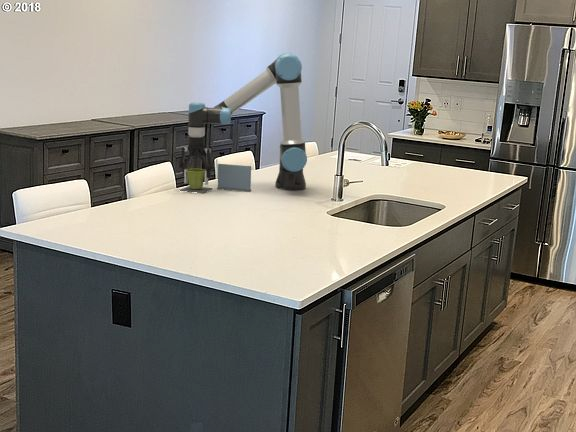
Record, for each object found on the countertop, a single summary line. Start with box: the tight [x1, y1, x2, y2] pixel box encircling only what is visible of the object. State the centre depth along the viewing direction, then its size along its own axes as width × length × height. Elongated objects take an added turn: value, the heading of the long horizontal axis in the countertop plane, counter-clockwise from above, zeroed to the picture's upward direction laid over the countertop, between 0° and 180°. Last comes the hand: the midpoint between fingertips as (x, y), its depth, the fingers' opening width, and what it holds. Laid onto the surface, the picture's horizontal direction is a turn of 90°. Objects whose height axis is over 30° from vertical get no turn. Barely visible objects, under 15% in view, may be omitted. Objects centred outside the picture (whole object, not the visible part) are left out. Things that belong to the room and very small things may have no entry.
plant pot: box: [186, 168, 206, 189], centre depth 362 cm, size 9×9×9 cm
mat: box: [179, 185, 213, 194], centre depth 363 cm, size 12×12×1 cm
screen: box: [216, 163, 252, 193], centre depth 366 cm, size 16×3×12 cm, turn 75°
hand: (196, 183), depth 362 cm, fingers open, 9 cm apart
